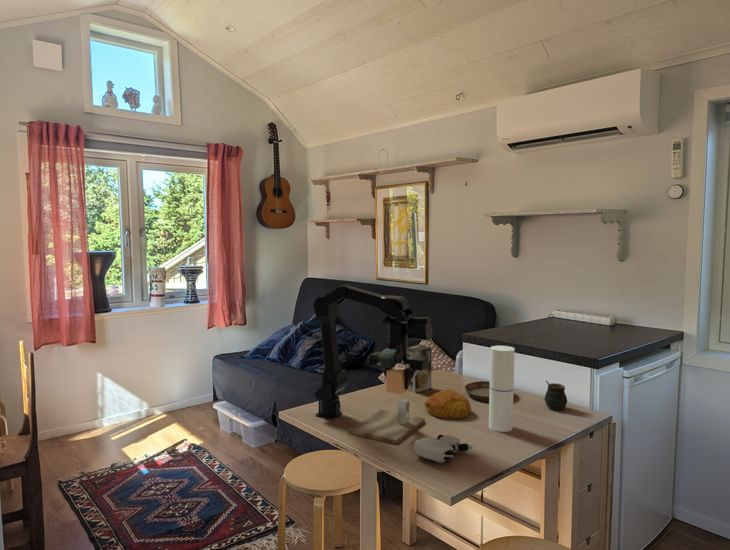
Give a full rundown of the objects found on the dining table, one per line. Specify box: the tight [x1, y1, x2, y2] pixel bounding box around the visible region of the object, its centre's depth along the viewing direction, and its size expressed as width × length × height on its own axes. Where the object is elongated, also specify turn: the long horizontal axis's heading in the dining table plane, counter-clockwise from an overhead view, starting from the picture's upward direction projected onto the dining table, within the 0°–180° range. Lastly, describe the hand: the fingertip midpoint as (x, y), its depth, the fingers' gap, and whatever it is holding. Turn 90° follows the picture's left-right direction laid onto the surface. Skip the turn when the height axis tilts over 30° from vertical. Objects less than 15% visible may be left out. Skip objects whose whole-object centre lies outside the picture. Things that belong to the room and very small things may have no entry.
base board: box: [348, 409, 426, 445], centre depth 165 cm, size 16×20×1 cm
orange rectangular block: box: [386, 366, 410, 395], centre depth 163 cm, size 5×5×7 cm
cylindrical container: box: [488, 345, 516, 433], centre depth 164 cm, size 7×7×25 cm
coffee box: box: [403, 344, 432, 394], centre depth 204 cm, size 9×6×16 cm
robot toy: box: [407, 434, 474, 464], centre depth 145 cm, size 12×4×15 cm
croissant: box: [423, 389, 472, 420], centre depth 179 cm, size 14×16×8 cm
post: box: [397, 399, 410, 425], centre depth 165 cm, size 3×3×7 cm
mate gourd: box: [544, 380, 568, 411], centre depth 182 cm, size 7×8×10 cm
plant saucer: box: [463, 380, 490, 402], centre depth 196 cm, size 18×18×3 cm
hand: (398, 388), depth 164 cm, fingers closed on orange rectangular block, 5 cm apart
